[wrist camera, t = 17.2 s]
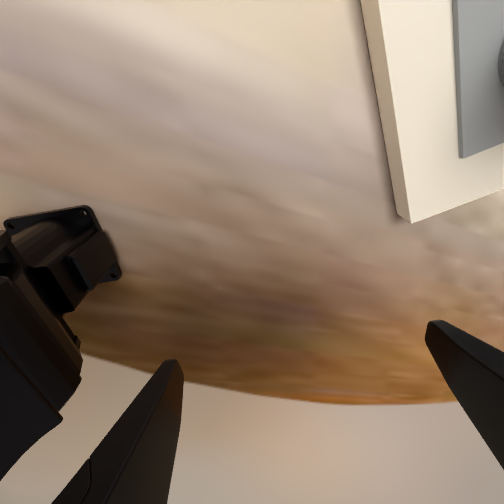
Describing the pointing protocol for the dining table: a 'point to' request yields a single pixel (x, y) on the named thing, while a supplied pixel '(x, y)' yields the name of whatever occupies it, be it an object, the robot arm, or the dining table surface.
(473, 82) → the white flat square slab
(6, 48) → the dining table surface
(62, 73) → the dining table surface
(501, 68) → the metal cylinder
